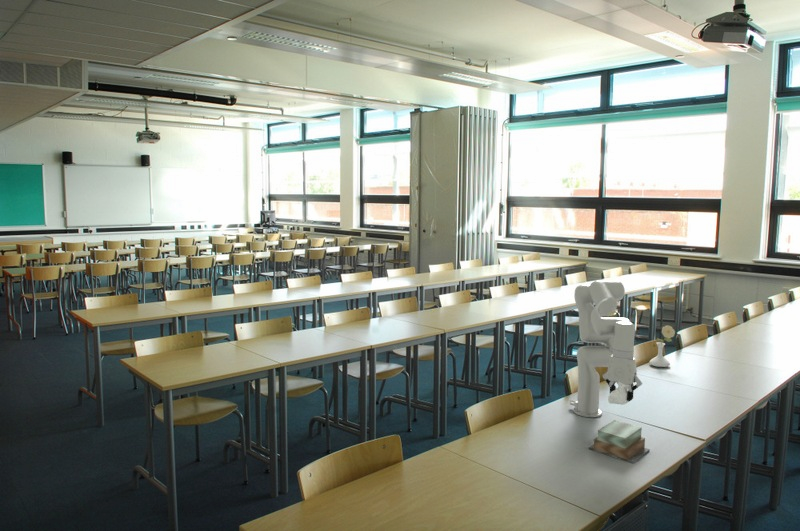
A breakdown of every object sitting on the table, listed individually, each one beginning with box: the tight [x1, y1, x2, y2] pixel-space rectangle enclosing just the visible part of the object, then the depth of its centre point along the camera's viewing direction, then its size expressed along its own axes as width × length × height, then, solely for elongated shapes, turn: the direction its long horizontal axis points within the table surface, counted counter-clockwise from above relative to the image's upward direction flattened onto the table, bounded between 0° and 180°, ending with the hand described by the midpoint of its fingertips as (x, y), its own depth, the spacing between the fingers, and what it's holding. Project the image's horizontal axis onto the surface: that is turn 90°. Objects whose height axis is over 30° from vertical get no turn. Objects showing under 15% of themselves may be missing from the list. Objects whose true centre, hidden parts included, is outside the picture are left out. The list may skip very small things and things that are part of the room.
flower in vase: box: [649, 324, 676, 368], centre depth 346 cm, size 13×11×25 cm
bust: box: [607, 382, 629, 406], centre depth 227 cm, size 12×8×11 cm
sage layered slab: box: [588, 419, 650, 464], centre depth 230 cm, size 18×15×9 cm
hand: (621, 398), depth 228 cm, fingers closed on bust, 6 cm apart
